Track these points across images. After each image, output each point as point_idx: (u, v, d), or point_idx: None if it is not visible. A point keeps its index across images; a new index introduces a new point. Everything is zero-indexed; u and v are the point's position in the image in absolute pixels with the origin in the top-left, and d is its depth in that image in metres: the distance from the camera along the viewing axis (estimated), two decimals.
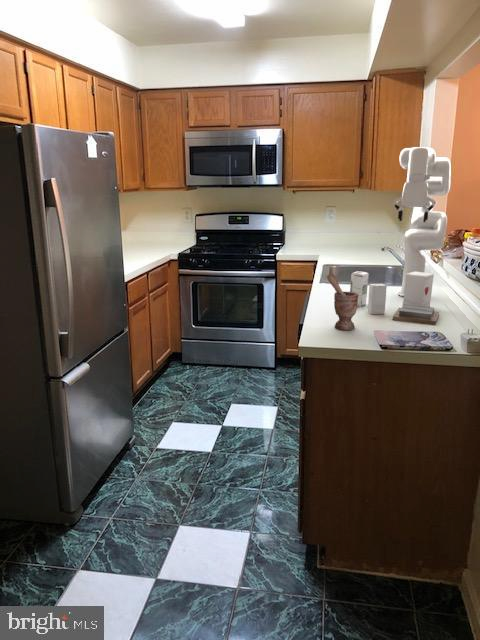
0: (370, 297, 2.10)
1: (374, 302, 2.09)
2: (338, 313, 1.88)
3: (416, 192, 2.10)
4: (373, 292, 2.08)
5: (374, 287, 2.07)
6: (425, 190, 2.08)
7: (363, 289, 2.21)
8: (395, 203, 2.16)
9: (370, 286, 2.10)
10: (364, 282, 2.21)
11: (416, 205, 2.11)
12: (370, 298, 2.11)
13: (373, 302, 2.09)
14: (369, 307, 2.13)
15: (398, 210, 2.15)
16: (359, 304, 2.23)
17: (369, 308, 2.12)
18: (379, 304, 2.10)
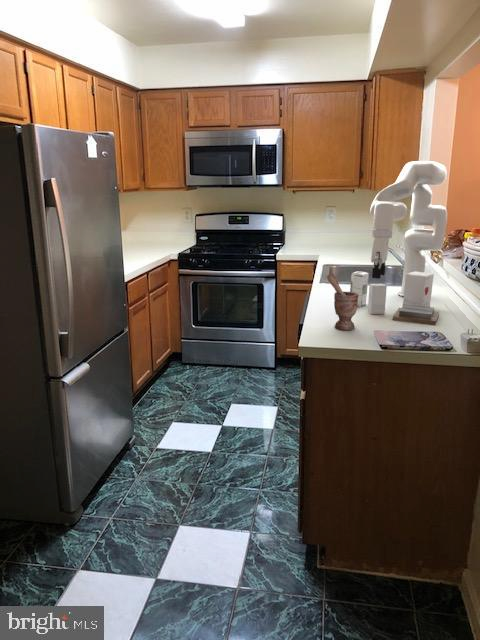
0: (370, 297, 2.10)
1: (374, 302, 2.09)
2: (338, 313, 1.88)
3: (387, 247, 2.05)
4: (373, 292, 2.08)
5: (374, 287, 2.07)
6: None
7: (363, 289, 2.21)
8: (377, 261, 2.00)
9: (370, 286, 2.10)
10: (364, 282, 2.21)
11: (385, 260, 2.07)
12: (370, 298, 2.11)
13: (373, 302, 2.09)
14: (369, 307, 2.13)
15: (379, 268, 2.02)
16: (359, 304, 2.23)
17: (369, 308, 2.12)
18: (379, 304, 2.10)
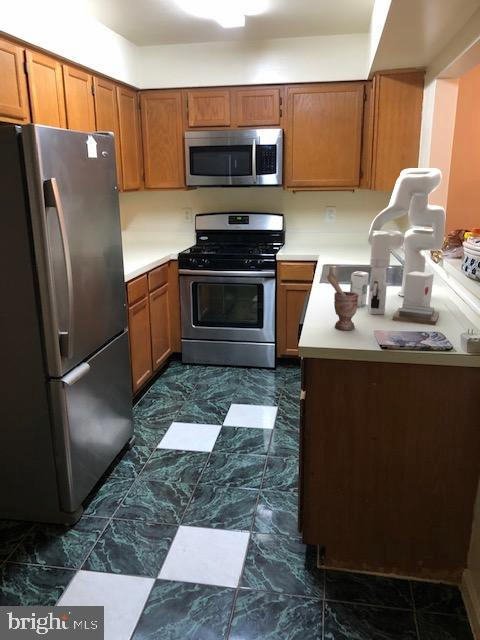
0: (370, 297, 2.10)
1: None
2: (338, 313, 1.88)
3: (385, 276, 2.08)
4: None
5: None
6: None
7: (363, 289, 2.21)
8: (376, 292, 2.04)
9: None
10: (364, 282, 2.21)
11: None
12: (370, 297, 2.11)
13: None
14: (368, 307, 2.13)
15: (377, 298, 2.06)
16: (359, 304, 2.23)
17: (369, 308, 2.12)
18: (379, 304, 2.10)
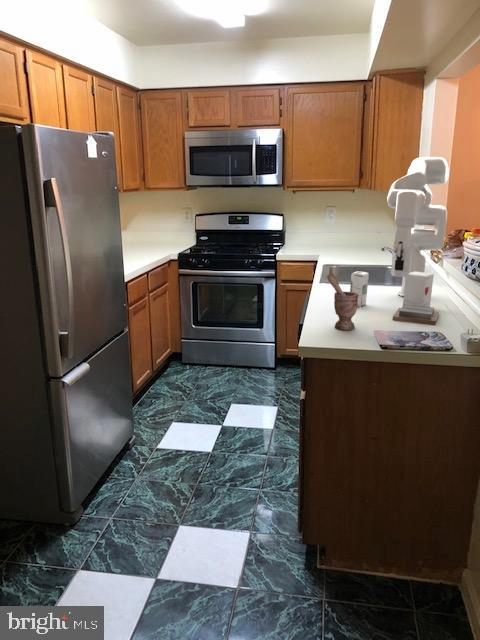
0: (394, 259, 2.03)
1: None
2: (338, 313, 1.88)
3: (410, 237, 2.01)
4: None
5: None
6: None
7: (363, 289, 2.21)
8: (400, 253, 1.97)
9: None
10: (364, 282, 2.21)
11: None
12: (393, 259, 2.03)
13: None
14: (392, 269, 2.05)
15: (402, 259, 1.99)
16: (359, 304, 2.23)
17: (392, 270, 2.05)
18: (403, 266, 2.02)
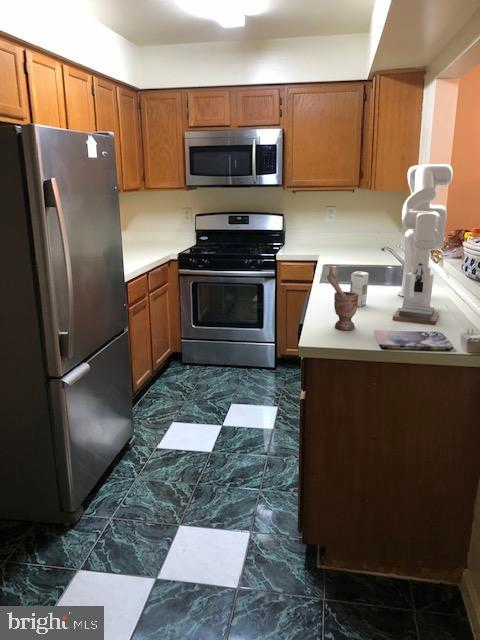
0: (412, 280, 2.02)
1: None
2: (338, 313, 1.88)
3: None
4: None
5: None
6: None
7: (363, 289, 2.21)
8: (420, 275, 1.96)
9: None
10: (364, 282, 2.21)
11: None
12: (412, 281, 2.02)
13: None
14: (411, 291, 2.04)
15: (421, 281, 1.98)
16: (359, 304, 2.23)
17: (411, 292, 2.03)
18: None
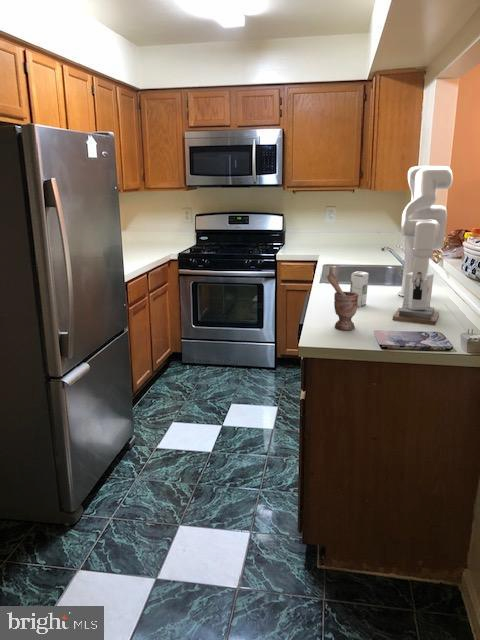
0: (411, 292, 2.03)
1: None
2: (338, 313, 1.88)
3: None
4: None
5: None
6: None
7: (363, 289, 2.21)
8: (419, 282, 1.96)
9: None
10: (364, 282, 2.21)
11: None
12: (411, 293, 2.03)
13: None
14: (409, 302, 2.05)
15: (420, 289, 1.98)
16: (359, 304, 2.23)
17: (410, 304, 2.05)
18: (420, 300, 2.02)
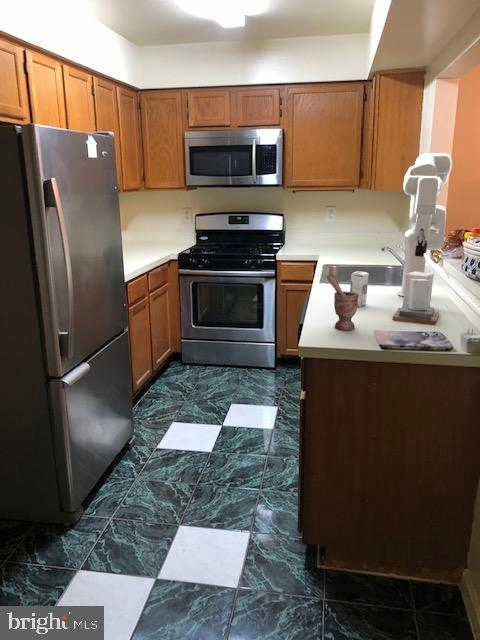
0: (411, 292, 2.03)
1: (415, 298, 2.02)
2: (338, 313, 1.88)
3: (430, 224, 1.98)
4: (414, 287, 2.01)
5: (415, 282, 2.00)
6: None
7: (363, 289, 2.21)
8: (421, 238, 1.93)
9: (411, 281, 2.03)
10: (364, 282, 2.21)
11: (428, 237, 2.00)
12: (411, 293, 2.03)
13: (414, 297, 2.02)
14: (409, 302, 2.05)
15: (423, 245, 1.95)
16: (359, 304, 2.23)
17: (410, 304, 2.05)
18: (421, 300, 2.02)
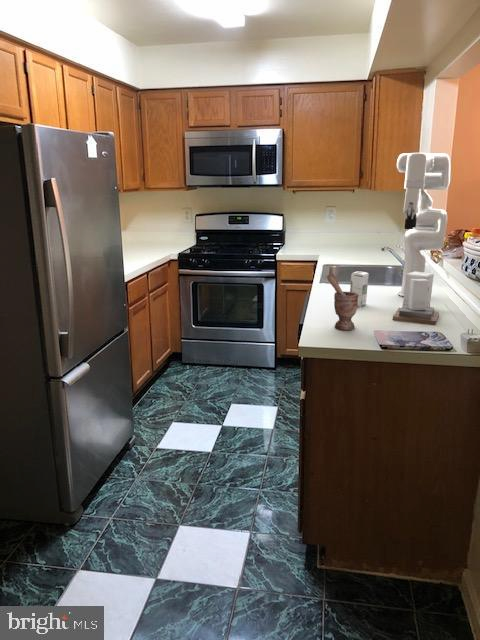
0: (411, 292, 2.03)
1: (415, 298, 2.02)
2: (338, 313, 1.88)
3: (419, 198, 2.07)
4: (414, 287, 2.01)
5: (415, 282, 2.00)
6: None
7: (363, 289, 2.21)
8: (410, 211, 2.02)
9: (411, 281, 2.03)
10: (364, 282, 2.21)
11: (417, 211, 2.09)
12: (411, 293, 2.03)
13: (414, 297, 2.02)
14: (409, 302, 2.05)
15: (412, 218, 2.04)
16: (359, 304, 2.23)
17: (410, 304, 2.05)
18: (421, 300, 2.02)
